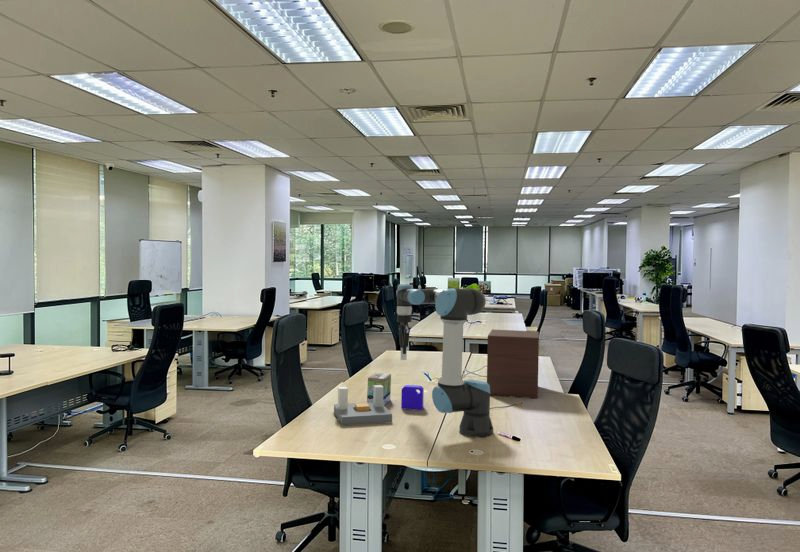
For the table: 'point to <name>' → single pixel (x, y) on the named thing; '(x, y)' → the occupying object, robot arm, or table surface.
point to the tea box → (379, 380)
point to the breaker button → (362, 407)
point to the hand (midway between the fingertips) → (403, 359)
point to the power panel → (362, 415)
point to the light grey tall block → (378, 395)
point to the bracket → (412, 397)
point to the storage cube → (513, 363)
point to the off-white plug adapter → (342, 397)
